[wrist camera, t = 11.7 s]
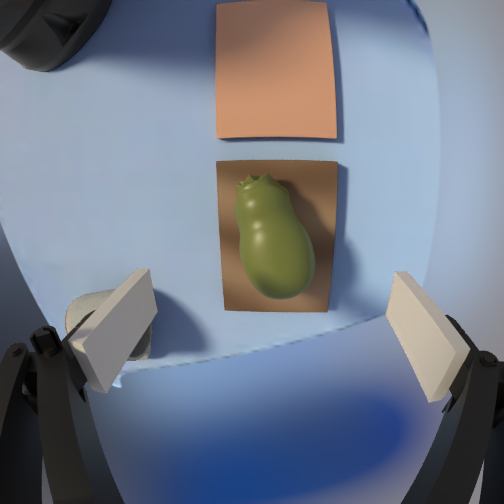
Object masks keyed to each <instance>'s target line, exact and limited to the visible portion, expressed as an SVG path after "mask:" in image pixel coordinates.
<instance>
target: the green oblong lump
mask: <svg viewBox="0 0 504 504" xmlns="http://www.w3.org/2000/svg"><path fill="white" fill-rule="evenodd" d="M249 176H250V177H249ZM250 178H251V179H250ZM251 180H252V181H251ZM236 187H237V188H236V189H237V191H238V197H237V199H236V201H235V206H234V213H235V218H236V222H237V225H238V228H239V231H240V244H239V251H240V258H241V261H242V265H243V267H244V270H245V272H246V274H247V276H248V278H249V280H250V281H251V283H252V285H253V286H254V287H255V288H256V290H257V291H258V292H260V293H261V294H262V295H264V296H266V297H268V298H271V299H276V300H284V299H290V298H293V297H295V296H297V295H299V294H301V293H302V292H304V291H305V290H306V289H307V288H308V287H309V285H310V284H311V282H312V280H313V278H314V274H315V255H314V249H313V245H312V242H311V239H310V237H309V234H308V232H307V231H306V229H305V228H304V226H303V225H302V224H301V222H300V221H299V220H298V219H297V217H296V214H295V212H294V209H293V206H292V203H291V201H290V195H289V192H288V190H287V189H286V188H285V187H284V186H282V185H280V184H279V182H278V181H276V180H275V179H273V178H272V177H271V176H270V174H269V173H268V172H267V173H266V174H264V175H262V176H261V177H260V176H256V175H255V176H254V175H248V176H247V178H246V180H245V181H239V182H238V183H237V185H236Z"/></svg>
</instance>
